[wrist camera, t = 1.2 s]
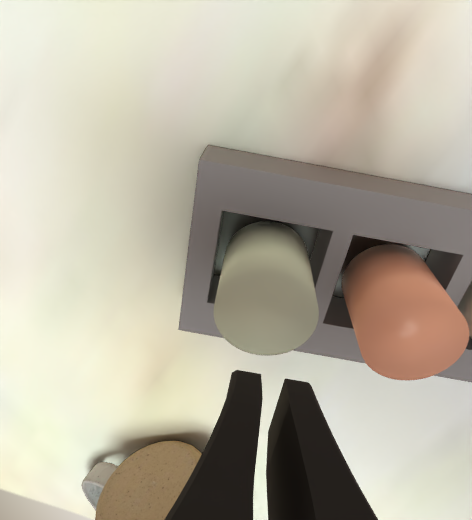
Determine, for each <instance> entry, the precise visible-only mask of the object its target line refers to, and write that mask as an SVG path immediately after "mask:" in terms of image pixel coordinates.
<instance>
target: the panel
mask: <svg viewBox="0 0 472 520" xmlns="http://www.w3.org/2000/svg"><path fill="white" fill-rule="evenodd" d="M224 211H227V212H232V213H238V214H243V215H249V216H254V217H260V218H265V219H270V220H276V221H281V222H287V223H292V224H298V225H303V226H308V227H314V228H319V232H318V235H317V238H316V242H315V245H314V248H313V252H312V255H311V259H310V266H311V271H312V277H313V282H314V287H315V292H316V298H317V303H318V308H319V318H318V323H317V326H316V328H315V330H314V332H313V334H312V335H311V336H310V338H309V339H308V340H307V341H306V342H305V343H303V344H302V345H301V346H299V347H297V348H296V349H294V351H300V352H305V353H311V354H317V355H322V356H328V357H333V358H339V359H345V360H350V361H356V362H361V363H365V361H364V359H363V357H362V355H361V352H360V348H359V345H358V342H357V338H356V335H355V332H354V328H353V325H352V322H351V318H350V315H349V312H348V308H347V305H346V302H345V298H339V297H334V296H332V295H333V292H334V289H335V286H336V283H337V281H338V278H339V275H340V272H341V269H342V266H343V263H344V260H345V257H346V255H347V252H348V249H349V246H350V243H351V240H352V237H353V235H357V236H363V237H368V238H374V239H379V240H384V241H390V242H395V243H401V244H406V245H412V246H417V247H423V248H428V249H431V251H430V253H429V255H428V257H427V259H426V261H425V263H426V265H427V266H428V267H429V269H430V270H431V272H432V273H433V274H434V276H435V277H436V278H437V280H438V281H439V283H440V284H441V285H442V287H443V288H444V290H445V291H446V292H447V294H448V295H449V297H450V298H451V299H452V301H453V302H454V303H455V305H456V306H457V307H458V305H459V303H460V301H461V299H462V297H463V296H464V294H465V292H466V290H467V288H468V286H469V285H470V283H471V281H472V194H468V193H463V192H457V191H452V190H447V189H441V188H436V187H431V186H425V185H420V184H415V183H409V182H404V181H399V180H393V179H388V178H382V177H377V176H372V175H366V174H361V173H356V172H350V171H345V170H340V169H334V168H329V167H324V166H318V165H313V164H308V163H302V162H297V161H291V160H286V159H281V158H275V157H270V156H265V155H259V154H254V153H249V152H243V151H238V150H233V149H227V148H222V147H217V146H211V145H208V146H207V147H206V149H205V151H204V152H203V154H202V156H201V157H200V159H199V165H198V173H197V182H196V190H195V198H194V206H193V215H192V223H191V231H190V239H189V247H188V256H187V264H186V272H185V280H184V288H183V297H182V305H181V313H180V321H179V329H178V330H182V331H188V332H193V333H199V334H205V335H210V336H216V337H221V338H224V337H223V336H222V335H221V333H220V332H219V330H218V328H217V326H216V323H215V320H214V304H215V299H216V294H217V289H218V285H219V280H220V276H218V275H214V269H215V263H216V257H217V251H218V245H219V238H220V232H221V226H222V220H223V214H224ZM434 376H440V377H445V378H451V379H457V380H462V381H468V382H472V338H471V337H470V335H469V341H468V344H467V347H466V349H465V351H464V352H463V354H462V355H461V356H460V358H459V359H458V360H457V361H456V362H455V363H454V364H452V365H451V366H450V367H448V368H447V369H445V370H444V371H442V372H440V373H438V374H435V375H434Z"/></svg>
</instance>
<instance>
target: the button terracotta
mask: <svg viewBox="0 0 472 520" xmlns="http://www.w3.org/2000/svg"><path fill="white" fill-rule="evenodd" d="M341 284H342V292H343V295H344V298H345V302H346V305H347V308H348V312H349V315H350V318H351V322H352V325H353V328H354V332H355V335H356V338H357V342H358V345H359V348H360V352H361V355H362V357H363V359H364V361H365V363H366V364H367V365H368V366H369V367H370V368H371V369H372V370H373V371H375V372H377V373H378V374H380V375H382V376H385V377H388V378H392V379H397V380H417V379H422V378H427V377H430V376H433V375H435V374H438V373H440V372H442V371H444V370H445V369H447V368H448V367H450V366H451V365H452V364H454V363H455V362H456V361H457V360H458V359H459V358H460V356H461V355H462V354H463V352H464V351H465V349H466V347H467V344H468V341H469V327H468V323H467V321H466V319H465V317H464V316H463V315H462V313H461V312H460V310H459V309H458V308H457V306H456V305H455V303H454V302H453V301H452V299H451V298H450V297H449V295H448V294H447V292H446V291H445V290H444V288H443V287H442V285H441V284H440V283H439V281H438V280H437V278H436V277H435V276H434V274H433V273H432V272H431V270H430V269H429V267H428V266H427V265H426V263H425V262H424V260H423V259H422V258H421V257H420V256H419V254H417V253H416V252H415V251H413V250H412V249H410V248H408V247H405V246H401V245H396V244H384V245H378V246H374V247H371V248H369V249H367V250H365V251H363V252H361V253H360V254H358V255H357V256H356V257H355V258H354V259H352V260H351V262H350V263H349V264H348V266H347V267H346V269H345V271H344V273H343V277H342V283H341Z"/></svg>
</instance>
